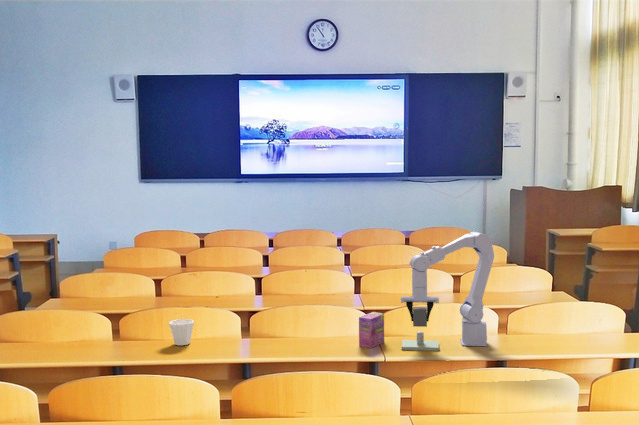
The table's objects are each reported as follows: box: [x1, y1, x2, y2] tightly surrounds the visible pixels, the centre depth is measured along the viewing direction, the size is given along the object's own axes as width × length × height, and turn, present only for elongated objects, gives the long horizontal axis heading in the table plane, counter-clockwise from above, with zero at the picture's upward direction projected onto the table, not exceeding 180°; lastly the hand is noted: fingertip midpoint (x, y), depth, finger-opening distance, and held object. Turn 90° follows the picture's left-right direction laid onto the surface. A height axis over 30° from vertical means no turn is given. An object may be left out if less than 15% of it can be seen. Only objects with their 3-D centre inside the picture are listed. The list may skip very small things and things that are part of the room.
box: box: [358, 311, 385, 349], centre depth 249 cm, size 10×6×12 cm, turn 143°
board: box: [401, 339, 440, 352], centre depth 245 cm, size 14×10×1 cm
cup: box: [168, 318, 195, 347], centre depth 255 cm, size 10×10×9 cm
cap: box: [412, 306, 428, 328], centre depth 244 cm, size 5×5×7 cm
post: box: [416, 330, 425, 345], centre depth 244 cm, size 3×3×4 cm
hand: (420, 320), depth 244 cm, fingers closed on cap, 5 cm apart
